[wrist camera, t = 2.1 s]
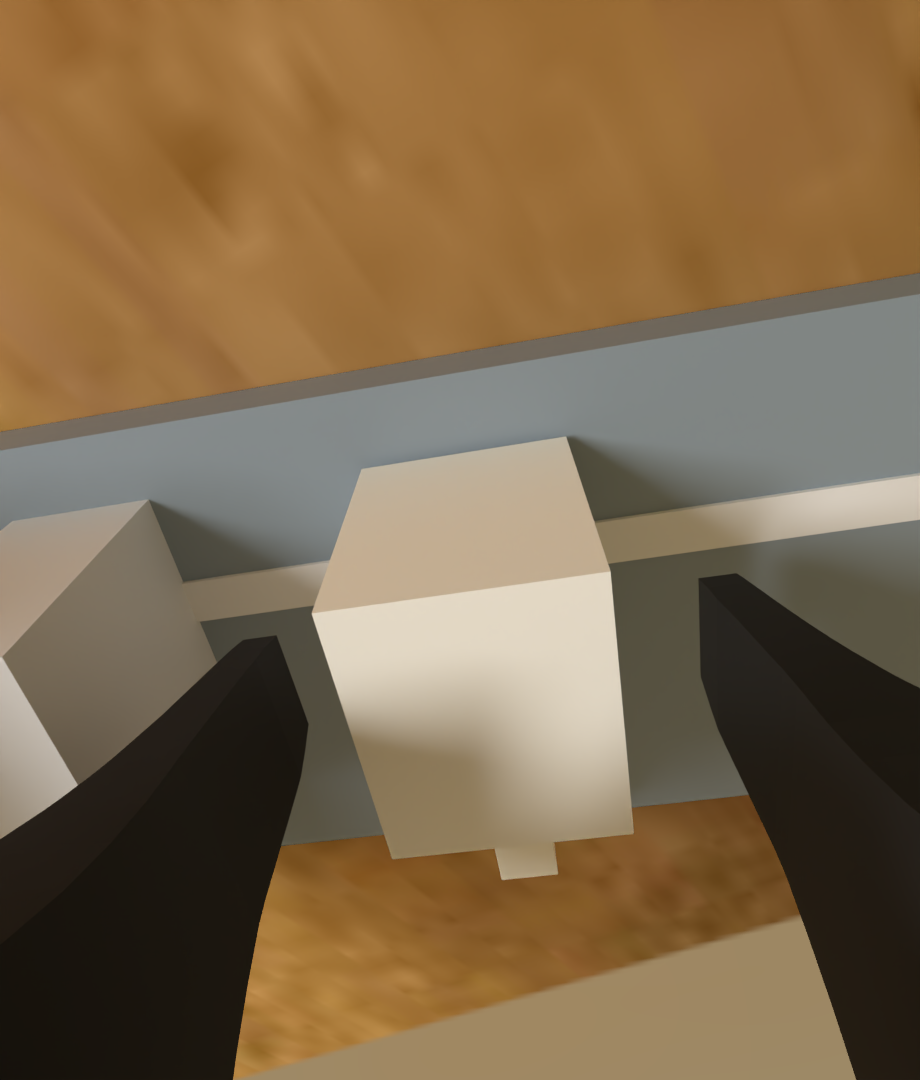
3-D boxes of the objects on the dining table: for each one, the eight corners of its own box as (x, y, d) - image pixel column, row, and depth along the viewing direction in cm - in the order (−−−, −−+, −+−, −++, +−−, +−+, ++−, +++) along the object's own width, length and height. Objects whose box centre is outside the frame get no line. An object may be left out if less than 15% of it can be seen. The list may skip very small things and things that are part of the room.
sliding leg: (444, 790, 18) (436, 993, 14) (361, 468, 14) (311, 613, 10) (603, 772, 18) (647, 975, 13) (566, 436, 14) (611, 571, 9)
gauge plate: (190, 814, 21) (81, 1068, 15) (-3, 432, 16) (-290, 602, 10) (897, 732, 19) (1083, 987, 13) (966, 265, 14) (1338, 350, 8)
